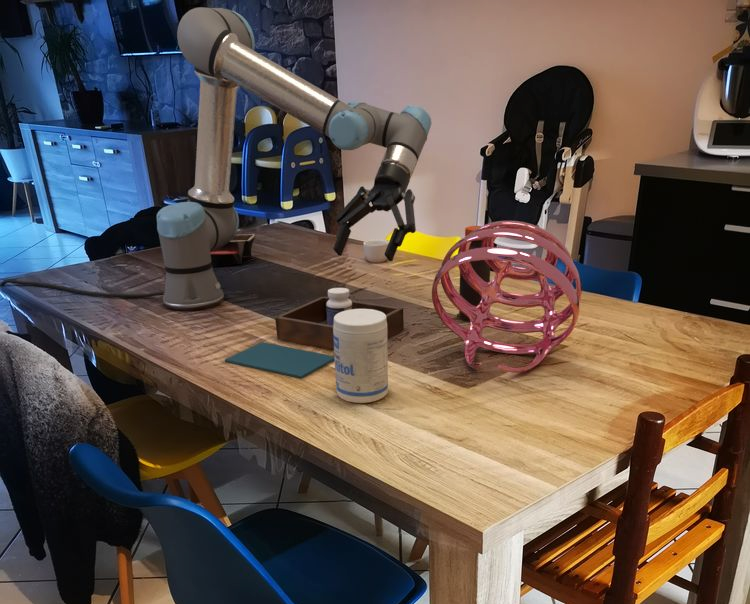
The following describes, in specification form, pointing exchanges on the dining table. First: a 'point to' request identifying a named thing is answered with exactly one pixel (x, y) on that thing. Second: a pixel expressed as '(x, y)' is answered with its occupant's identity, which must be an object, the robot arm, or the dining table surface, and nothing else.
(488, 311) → the spiral basket
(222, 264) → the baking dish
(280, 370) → the mat
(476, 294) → the vinegar
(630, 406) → the dining table surface
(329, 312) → the pill bottle
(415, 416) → the dining table surface
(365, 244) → the teacup
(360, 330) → the supplement tub
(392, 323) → the wooden tray
